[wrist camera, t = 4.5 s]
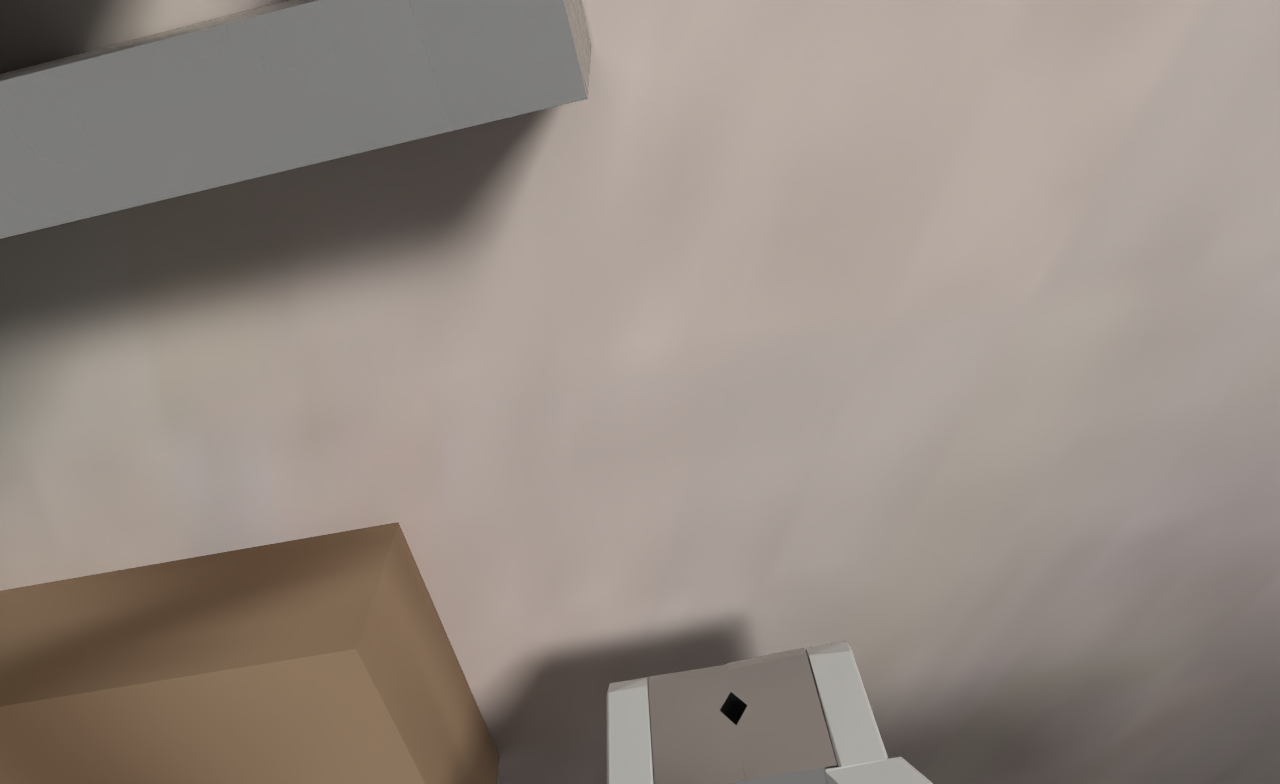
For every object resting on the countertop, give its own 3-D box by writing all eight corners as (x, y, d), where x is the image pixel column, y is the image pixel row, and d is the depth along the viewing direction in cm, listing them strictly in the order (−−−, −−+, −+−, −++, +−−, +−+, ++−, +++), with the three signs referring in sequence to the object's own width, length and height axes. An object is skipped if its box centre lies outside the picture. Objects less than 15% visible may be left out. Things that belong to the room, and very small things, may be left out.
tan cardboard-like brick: (403, 505, 11) (355, 648, 9) (501, 739, 14) (482, 894, 12) (-77, 589, 12) (-232, 744, 10) (103, 800, 14) (14, 960, 12)
